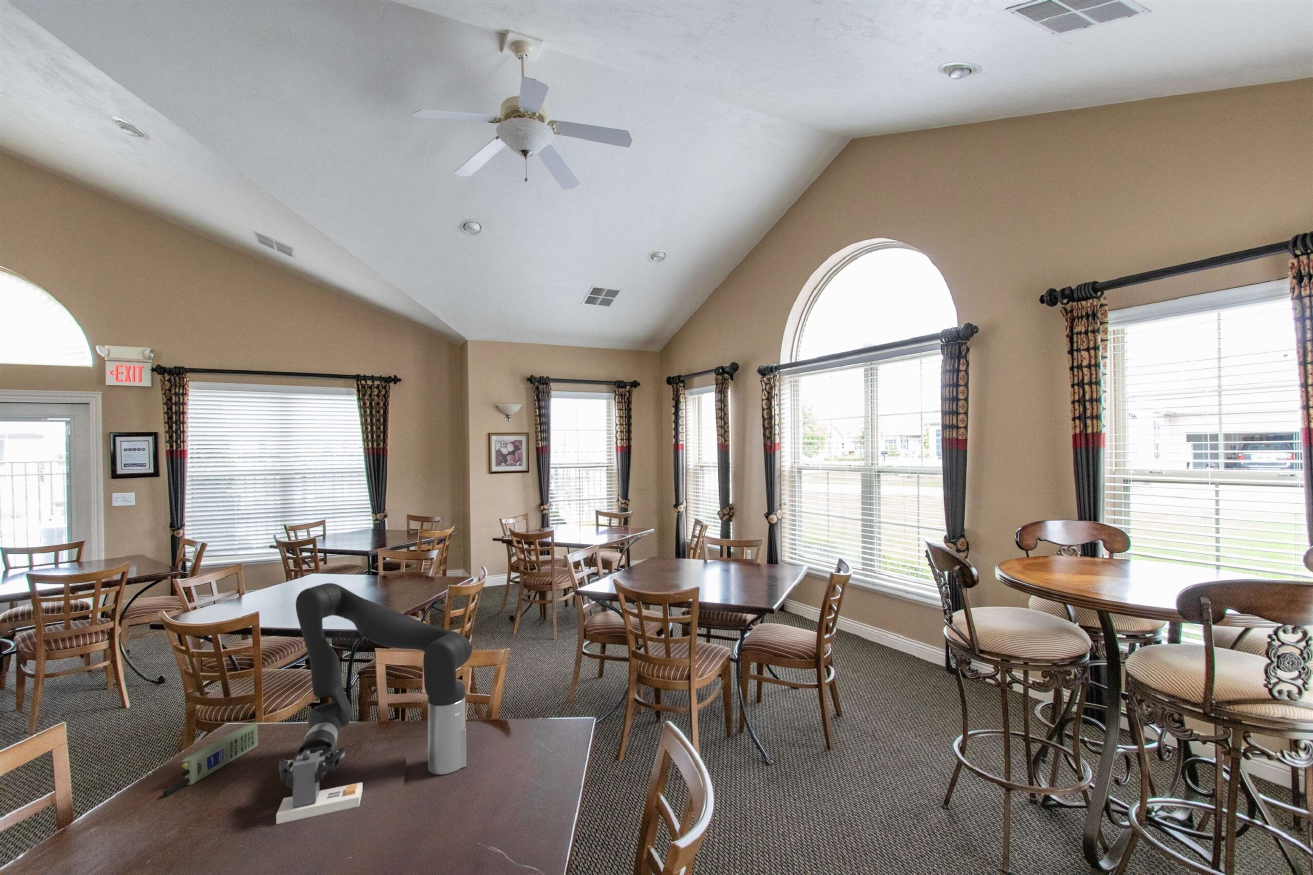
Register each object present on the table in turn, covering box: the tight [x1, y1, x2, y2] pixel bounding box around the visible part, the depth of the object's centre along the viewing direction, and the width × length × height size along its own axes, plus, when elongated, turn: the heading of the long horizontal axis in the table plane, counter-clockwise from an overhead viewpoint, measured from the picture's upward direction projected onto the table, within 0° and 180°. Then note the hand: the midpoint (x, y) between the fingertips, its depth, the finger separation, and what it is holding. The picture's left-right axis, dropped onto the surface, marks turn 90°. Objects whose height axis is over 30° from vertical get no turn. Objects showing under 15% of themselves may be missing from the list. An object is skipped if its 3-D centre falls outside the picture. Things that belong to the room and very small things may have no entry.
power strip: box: [275, 782, 363, 825], centre depth 129 cm, size 22×6×4 cm, turn 112°
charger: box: [292, 750, 320, 808], centre depth 127 cm, size 4×4×12 cm
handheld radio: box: [162, 722, 259, 797], centre depth 147 cm, size 7×3×25 cm
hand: (303, 780), depth 124 cm, fingers closed on charger, 4 cm apart
